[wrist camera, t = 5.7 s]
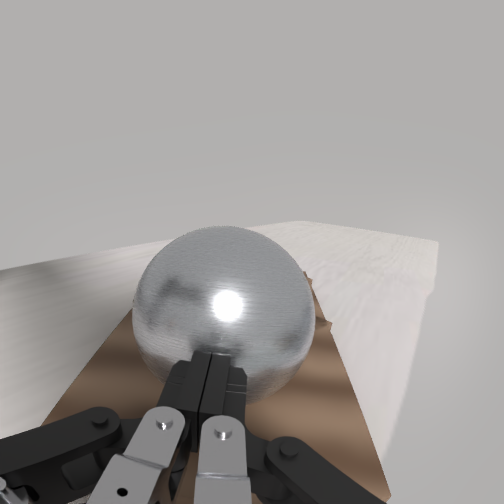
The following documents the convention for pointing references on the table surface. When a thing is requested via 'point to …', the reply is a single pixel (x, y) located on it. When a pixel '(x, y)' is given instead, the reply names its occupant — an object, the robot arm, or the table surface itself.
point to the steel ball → (226, 307)
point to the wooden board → (256, 414)
